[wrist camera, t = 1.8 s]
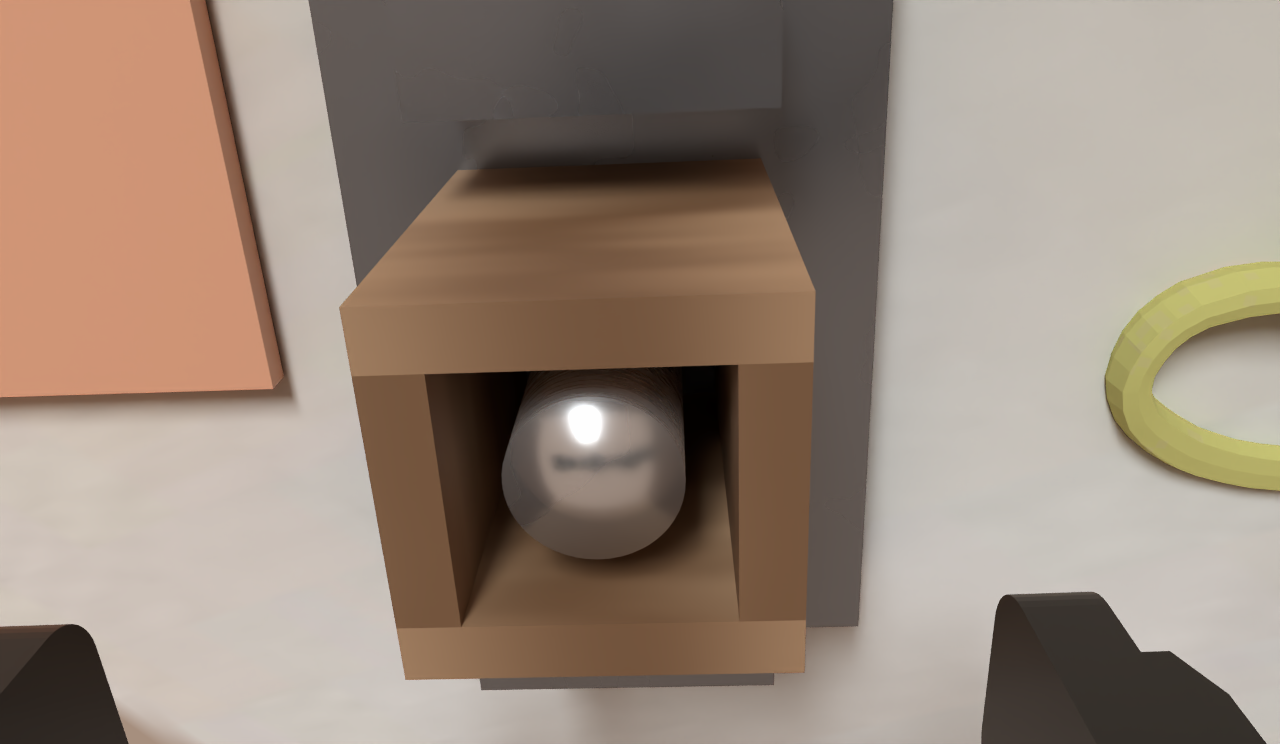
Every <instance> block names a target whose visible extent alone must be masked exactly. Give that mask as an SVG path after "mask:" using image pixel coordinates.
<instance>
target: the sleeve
mask: <svg viewBox="0 0 1280 744" xmlns="http://www.w3.org/2000/svg"><path fill="white" fill-rule="evenodd" d="M815 296H816V291H815V289H814V286H813V284H812V281H811V279H810V277H809V274H808V272H807V269H806V267H805V264H804V262H803V259H802V257H801V255H800V252H799V250H798V247H797V245H796V242H795V240H794V238H793V235H792V233H791V230H790V228H789V225H788V223H787V220H786V218H785V216H784V213H783V211H782V208H781V206H780V203H779V201H778V199H777V196H776V194H775V191H774V189H773V186H772V184H771V181H770V179H769V177H768V174H767V172H766V169H765V167H764V164H763V162H762V160H761V158H760V159H734V160H708V161H683V162H657V163H631V164H605V165H580V166H554V167H528V168H503V169H477V170H457V171H456V173H455V174H454V175H453V176H452V177H451V178H450V180H449V181H448V182H447V183H446V184H445V185H444V186H443V188H442V189H441V190H440V191H439V192H438V193H437V195H436V196H435V197H434V198H433V199H432V200H431V202H430V203H429V204H428V205H427V206H426V207H425V209H424V210H423V211H422V212H421V213H420V214H419V216H418V217H417V218H416V219H415V220H414V221H413V222H412V224H411V225H410V226H409V227H408V228H407V229H406V231H405V232H404V233H403V234H402V235H401V236H400V238H399V239H398V240H397V241H396V242H395V243H394V245H393V246H392V247H391V248H390V249H389V250H388V251H387V253H386V254H385V255H384V256H383V257H382V258H381V260H380V261H379V262H378V263H377V264H376V265H375V267H374V268H373V269H372V270H371V271H370V272H369V274H368V275H367V276H366V277H365V278H364V279H363V280H362V282H361V283H360V284H359V285H358V286H357V287H356V289H355V290H354V291H353V292H352V293H351V294H350V296H349V297H348V298H347V299H346V300H345V301H344V303H343V304H342V305H341V306H340V307H339V309H340V314H341V320H342V325H343V331H344V337H345V342H346V348H347V353H348V359H349V365H350V370H351V376H352V381H353V387H354V393H355V398H356V404H357V409H358V415H359V421H360V426H361V432H362V438H363V443H364V449H365V454H366V460H367V466H368V471H369V477H370V482H371V488H372V494H373V499H374V505H375V510H376V516H377V522H378V527H379V533H380V539H381V544H382V550H383V555H384V561H385V567H386V572H387V578H388V583H389V589H390V595H391V600H392V606H393V611H394V617H395V623H396V628H397V634H398V639H399V645H400V651H401V656H402V662H403V668H404V673H405V679H406V680H421V679H476V678H531V677H586V676H641V675H695V674H750V673H804V670H805V636H806V602H807V568H808V534H809V500H810V466H811V432H812V398H813V364H814V330H815ZM707 365H715V392H713V393H683V418H684V447H685V476H686V483H685V494H684V499H683V502H682V505H681V508H680V511H679V513H678V514H677V516H676V518H675V520H674V521H673V523H672V524H671V525H670V527H669V528H668V529H667V530H666V531H665V532H664V533H663V534H662V535H661V536H660V537H659V538H658V539H656V540H655V541H654V542H653V543H651V544H649V545H648V546H646V547H644V548H643V549H640V550H638V551H636V552H634V553H631V554H628V555H625V556H621V557H616V558H611V559H584V558H577V557H572V556H568V555H565V554H562V553H559V552H557V551H554V550H552V549H550V548H548V547H546V546H544V545H543V544H541V543H540V542H538V541H537V540H535V539H534V538H533V537H532V536H530V535H529V534H528V533H527V532H526V531H525V530H524V529H523V528H522V527H521V526H520V525H519V524H518V522H517V521H516V519H515V518H514V516H513V515H512V513H511V511H510V509H509V507H508V505H507V502H506V500H505V497H504V493H503V487H502V466H503V461H504V457H505V454H506V450H507V447H508V444H509V441H510V437H511V434H512V431H513V427H514V424H515V421H516V418H517V414H518V411H519V408H520V405H521V401H522V398H523V395H524V392H525V388H526V385H527V379H526V371H544V370H577V369H609V368H642V367H675V366H707Z"/></svg>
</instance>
